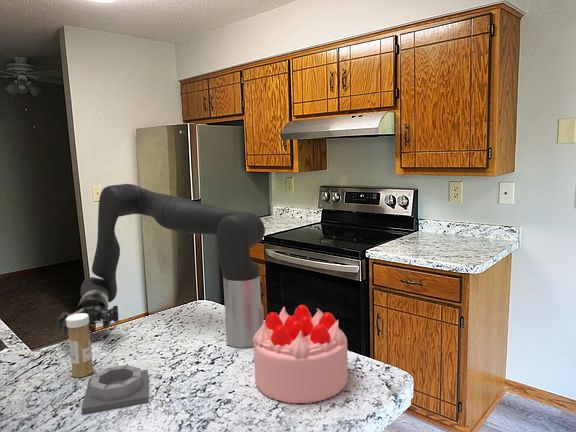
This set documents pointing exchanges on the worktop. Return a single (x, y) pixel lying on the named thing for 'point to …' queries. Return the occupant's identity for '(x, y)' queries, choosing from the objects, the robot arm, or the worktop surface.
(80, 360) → the sprinkles bottle
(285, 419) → the worktop surface
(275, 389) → the cake
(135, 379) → the barrel socket
